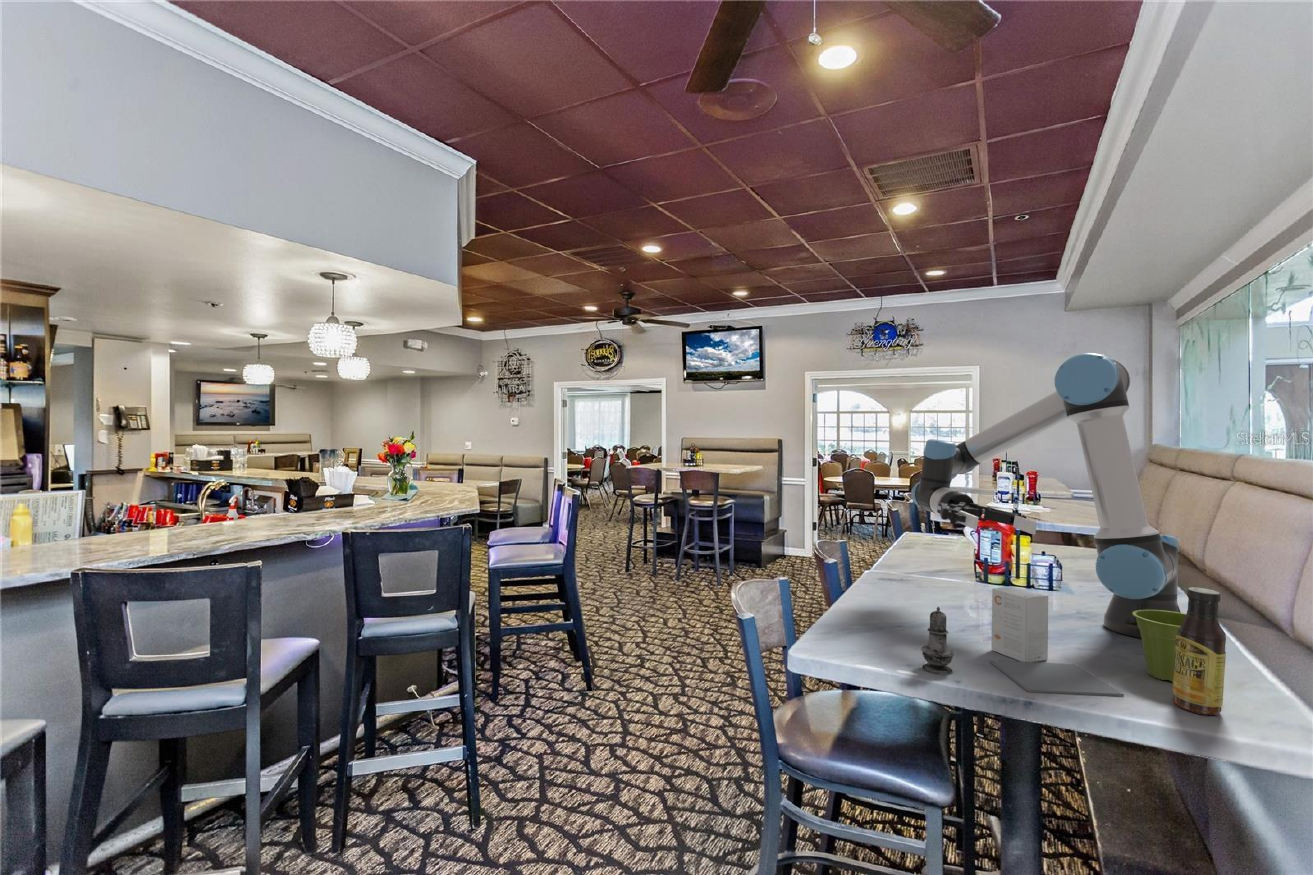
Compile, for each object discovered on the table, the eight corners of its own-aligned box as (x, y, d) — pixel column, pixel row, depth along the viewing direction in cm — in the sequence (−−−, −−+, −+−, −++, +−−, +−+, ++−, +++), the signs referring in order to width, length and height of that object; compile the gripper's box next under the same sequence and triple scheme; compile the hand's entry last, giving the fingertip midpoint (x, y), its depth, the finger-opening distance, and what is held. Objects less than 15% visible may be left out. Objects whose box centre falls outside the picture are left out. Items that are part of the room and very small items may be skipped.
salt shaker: (958, 676, 113) (959, 612, 113) (924, 673, 114) (925, 609, 114) (949, 665, 119) (950, 603, 119) (917, 662, 120) (918, 601, 120)
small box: (1048, 660, 123) (1049, 595, 122) (1025, 664, 120) (1026, 597, 120) (1012, 647, 130) (1013, 585, 130) (990, 650, 128) (991, 588, 128)
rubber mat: (1074, 665, 120) (1074, 663, 120) (1124, 696, 106) (1124, 694, 106) (989, 662, 121) (990, 660, 121) (1027, 691, 107) (1027, 689, 107)
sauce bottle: (1162, 701, 104) (1164, 584, 104) (1196, 700, 105) (1198, 584, 104) (1199, 718, 98) (1202, 594, 97) (1235, 718, 98) (1238, 594, 98)
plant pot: (1158, 663, 122) (1159, 606, 122) (1229, 686, 111) (1231, 624, 111) (1116, 669, 118) (1117, 611, 118) (1186, 694, 107) (1187, 630, 107)
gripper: (996, 523, 157) (1056, 547, 136) (903, 515, 155) (948, 537, 134) (1001, 495, 156) (1061, 514, 135) (907, 486, 154) (953, 504, 133)
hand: (1005, 525), depth 134 cm, fingers open, 13 cm apart
